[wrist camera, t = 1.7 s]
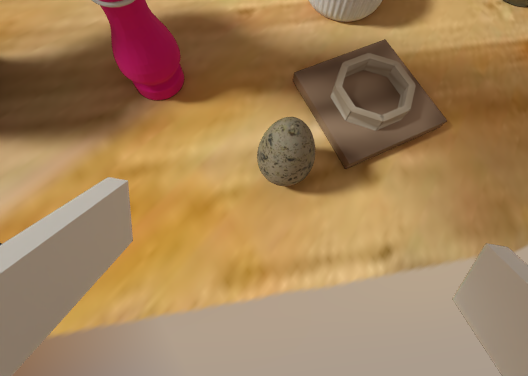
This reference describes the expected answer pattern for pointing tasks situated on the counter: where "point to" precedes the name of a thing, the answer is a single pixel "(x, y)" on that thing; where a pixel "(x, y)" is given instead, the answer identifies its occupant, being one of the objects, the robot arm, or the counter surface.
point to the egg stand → (367, 102)
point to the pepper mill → (144, 48)
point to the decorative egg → (286, 152)
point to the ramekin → (345, 8)
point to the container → (518, 2)
